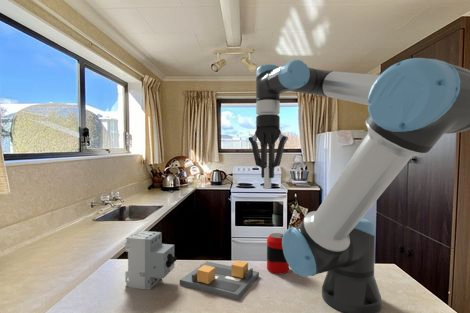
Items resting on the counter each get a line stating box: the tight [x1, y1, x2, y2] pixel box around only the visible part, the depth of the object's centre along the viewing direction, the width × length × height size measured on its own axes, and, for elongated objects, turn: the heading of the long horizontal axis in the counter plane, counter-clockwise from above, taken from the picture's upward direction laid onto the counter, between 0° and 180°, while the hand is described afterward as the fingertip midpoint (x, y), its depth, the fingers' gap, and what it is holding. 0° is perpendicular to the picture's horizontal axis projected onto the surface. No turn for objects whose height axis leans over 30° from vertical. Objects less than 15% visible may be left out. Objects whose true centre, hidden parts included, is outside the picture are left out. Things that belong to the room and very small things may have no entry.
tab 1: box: [197, 265, 215, 284], centre depth 84 cm, size 4×4×4 cm
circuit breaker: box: [124, 230, 177, 290], centre depth 85 cm, size 8×14×15 cm, turn 78°
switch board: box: [179, 261, 260, 301], centre depth 87 cm, size 20×16×4 cm
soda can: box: [266, 232, 290, 275], centre depth 95 cm, size 8×8×12 cm
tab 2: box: [231, 260, 249, 278], centre depth 87 cm, size 4×4×4 cm
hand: (267, 188), depth 88 cm, fingers closed
